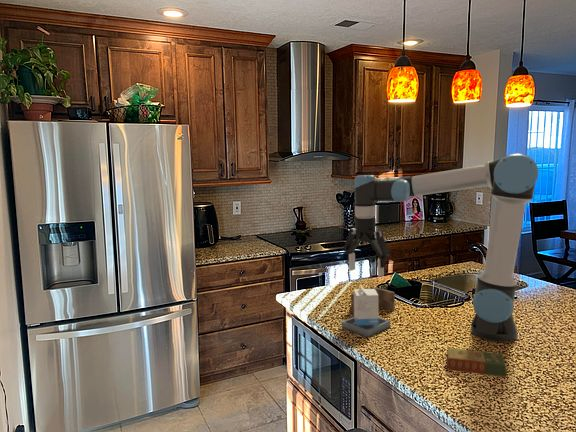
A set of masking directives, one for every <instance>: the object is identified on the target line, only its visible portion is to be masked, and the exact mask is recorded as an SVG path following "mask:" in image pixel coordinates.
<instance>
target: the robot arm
mask: <svg viewBox="0 0 576 432" xmlns="http://www.w3.org/2000/svg"><path fill="white" fill-rule="evenodd" d="M538 177H539V167H538V164H537V163H536V161H535V160H534V159H533V158H532V157H530V156H529V155H527V154H525V153H520V152H519V153H511V154H507V155H505V156H504V157H500V158H498V159H492V160H488V161H487V162H486V163H485V164H480V165H475V166H468V167H463V168H454V169H449V170H444V171H438V172H437V171H436V172H432V173H426V174H425V173H424V174H419V175H418V174H417V175H415V176H414V175H412V176H407V177H398V178H395V179H391V180H387V179H386V180H378V179H376V176H375V175H373V174H363V175H356V176H355V177H354V217H355V219H354V227H353V228H349V230H348V237H347V239H346V241H345V244H344V246H343V249H342V250H343V252H346V253H347V261H348V271H354V270H356V253H355V250H356V249H357V247H358V246H359V245H360V243H368V244H369V245H370V246H371V247H372V248H373V251H374V252H375V253H376V255H377V256H378V259H377V277H378V278H381V277H383V276H385V268H386V264H387V263H386V260H387V259H388V258H391V253H390V251H389V248H388V246H387V244H386V241H385V239H384V238H385V237H384V234H383V231H382V230H380V231H376V223H377V222H376V220H377V218H376V217H375V216H376V202H396V203H400V202H406V201H408V200H409V198H412V197H417V196H425V195H433V194H439V193H446V192H447V193H448V192H454V191H462V190H469V189H471V190H472V189H477V188H478V189H479V188H484V187H485V188H486V187H489V188H490V189H491V196H492V197H493V200H494V207H493V213H492V220H491V225H490V231H489V239H488V242H487V243H488V244H487V251H486V255H485V256H486V257H485V262H484V268H483V270H479V271H478V272H477V277H476V286H475V289H474V290H475V291H474V296H473V298H472V307H473V310H474V312H475V314H474V316H473V319H472V322H471V325H470V331H471V333H472V334H473V336H475V337H478V338H480V339H484V340H487V341H492V342H500V343H501V342H502V343H503V342H512V341H514V340H517V337H518V329H517V324H516V322H515V319H514V316H513V312H514V309H515V308H514V307H515V306H514V303H515V302H514V301H515V295H516V291H517V284H518V283H517V281H516V280H515V279H514V278H515V276H514V271H515V265H516V262H517V261H516V260H517V255H518V249H519V243H520V238H521V233H522V226H523V222H524V216H525V210H526V205H527V204H528V203H529V202H531V201H532V200H533V198H534V192H535V186H536V183H537V180H538Z"/></svg>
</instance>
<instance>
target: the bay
mask: <svg viewBox="0 0 576 432" xmlns="http://www.w3.org/2000/svg"><path fill="white" fill-rule="evenodd" d="M369 289H375V290H376V292H377V294H378V306H379V308H381V309H384V310H388V311H392V312H394V311H395V300H396V299H395V297H396V296H395V292H394V291H392V290H387V289H383V288H379V287H376V286H375V287H374V286H370V288H369ZM348 311H349V312H351V313H352V314H354V292H353V293H350V306H349V309H348Z"/></svg>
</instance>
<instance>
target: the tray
mask: <svg viewBox="0 0 576 432" xmlns="http://www.w3.org/2000/svg"><path fill="white" fill-rule="evenodd" d="M389 328H391V320H388V319H386V318H382V317H379V325H365V326H357V324H356V321H355V319H354V316H352V317H350V318H348V319H346V320H342V321H341V329H343V330H346V331H349V332H351V333H355V334H357V335H361V336H362V337H365V338H370V337H373V336H375V335H377V334H379V333H381V332H383V331H385V330H387V329H389Z"/></svg>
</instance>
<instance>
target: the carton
mask: <svg viewBox="0 0 576 432" xmlns="http://www.w3.org/2000/svg"><path fill="white" fill-rule="evenodd" d="M446 350H447V352H446V353H447V354H446V359H447V360H446V363H447V371H451V372H453V371H454V372H460V373H469V374H477V375H485V376H493V377H499V378H506V377H507V365H506V363H505V359H504V357H503V353H498V352H490V351H489V352H488V351H479V350H473V349H472V350H471V349H462V348H453V347H447V349H446Z"/></svg>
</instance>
